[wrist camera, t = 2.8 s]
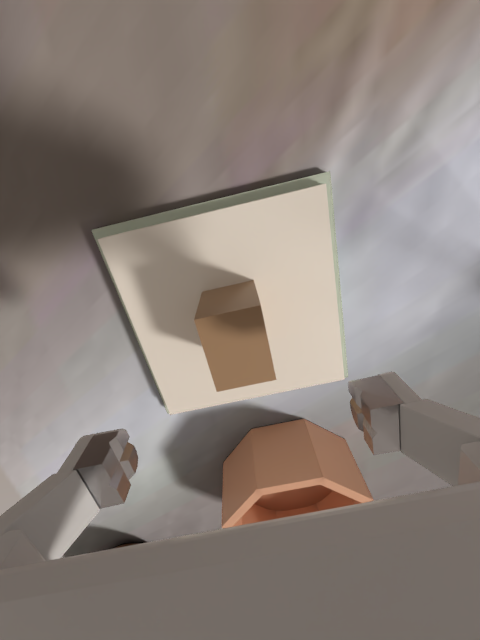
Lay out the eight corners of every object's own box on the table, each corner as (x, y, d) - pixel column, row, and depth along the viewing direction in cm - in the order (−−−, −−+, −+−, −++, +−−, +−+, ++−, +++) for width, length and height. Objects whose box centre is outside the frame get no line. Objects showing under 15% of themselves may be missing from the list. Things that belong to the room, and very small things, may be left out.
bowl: (213, 436, 23) (209, 497, 18) (342, 410, 22) (371, 468, 17) (241, 516, 26) (244, 583, 22) (351, 496, 26) (376, 561, 21)
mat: (95, 228, 16) (90, 230, 16) (326, 172, 15) (330, 171, 15) (169, 407, 21) (167, 413, 21) (344, 372, 21) (348, 377, 20)
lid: (103, 237, 16) (54, 253, 11) (321, 184, 15) (359, 179, 11) (172, 406, 21) (156, 465, 16) (340, 372, 20) (371, 423, 15)
